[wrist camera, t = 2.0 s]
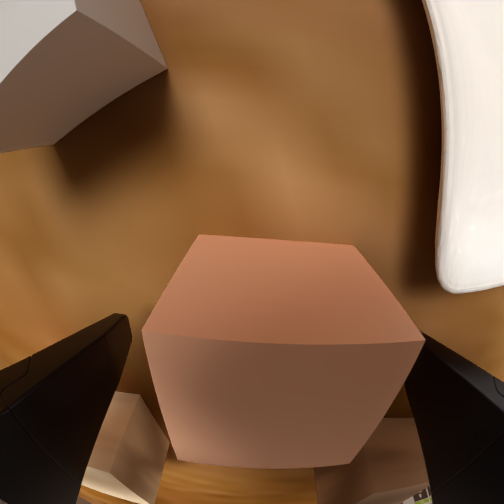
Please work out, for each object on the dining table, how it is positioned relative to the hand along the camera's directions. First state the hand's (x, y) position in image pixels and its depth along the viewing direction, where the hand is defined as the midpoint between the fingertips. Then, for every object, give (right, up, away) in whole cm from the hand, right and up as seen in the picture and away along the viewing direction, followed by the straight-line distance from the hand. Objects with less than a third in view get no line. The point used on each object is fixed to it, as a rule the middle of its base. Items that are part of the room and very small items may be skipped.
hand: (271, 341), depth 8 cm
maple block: (-8, -7, +5) cm, 12 cm away
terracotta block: (0, +1, +2) cm, 2 cm away
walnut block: (+6, -9, +5) cm, 12 cm away
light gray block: (-6, +10, -2) cm, 12 cm away
